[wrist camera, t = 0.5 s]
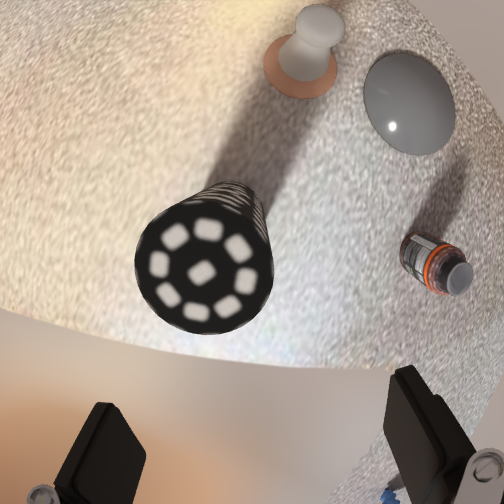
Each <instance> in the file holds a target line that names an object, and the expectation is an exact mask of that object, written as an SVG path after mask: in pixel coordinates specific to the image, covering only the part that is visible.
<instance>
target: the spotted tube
mask: <svg viewBox="0 0 504 504" xmlns="http://www.w3.org/2000/svg"><path fill="white" fill-rule="evenodd" d="M134 261H135V275H136V280H137V284H138V287H139V289H140V291H141V294H142V296H143V298H144V299H145V301H146V302H147V303H148V305H149V306H150V308H151V309H152V310H153V311H154V312H155V313H156V314H157V315H158V316H159V317H160V318H162V319H163V320H164V321H166V322H167V323H169V324H170V325H172V326H174V327H176V328H178V329H180V330H183V331H186V332H190V333H193V334H201V335H216V334H222V333H226V332H230V331H233V330H235V329H237V328H240V327H242V326H244V325H245V324H246V323H248V322H249V321H251V320H252V319H253V318H254V317H255V316H256V315H257V314H258V313H259V312H260V311H261V310H262V308H263V306H264V305H265V303H266V302H267V300H268V298H269V295H270V292H271V289H272V287H273V279H274V264H273V256H272V251H271V246H270V241H269V236H268V231H267V226H266V221H265V216H264V211H263V207H262V204H261V202H260V200H259V198H258V196H257V195H256V194H255V193H254V192H253V191H252V190H251V189H250V188H248V187H247V186H245V185H243V184H240V183H236V182H222V183H219V184H216V185H213V186H211V187H209V188H207V189H205V190H203V191H201V192H199V193H197V194H195V195H193V196H191V197H189V198H187V199H185V200H183V201H181V202H179V203H177V204H175V205H173V206H171V207H169V208H168V209H166V210H164V211H163V212H161V213H160V214H158V215H157V216H156V217H155V218H154V219H153V220H152V221H151V222H150V223H149V224H148V225H147V227H146V228H145V230H144V231H143V233H142V234H141V237H140V239H139V242H138V244H137V247H136V253H135V259H134Z"/></svg>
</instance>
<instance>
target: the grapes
mask: <svg viewBox="0 0 504 504" xmlns="http://www.w3.org/2000/svg"><path fill="white" fill-rule="evenodd" d="M395 497H396V494H395V493H393V491H392V490H385V491H384V493H383V494H382V496H381V498H380V500H382V501H383V503H382V504H400V501H399V500H396V499H395Z"/></svg>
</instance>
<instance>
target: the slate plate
mask: <svg viewBox="0 0 504 504" xmlns="http://www.w3.org/2000/svg"><path fill="white" fill-rule="evenodd" d="M363 95H364V104H365V108H366V112H367V114H368V117H369V119H370V121H371V123H372V125H373V127H374V128H375V130H376V131H377V133H378V134H379V135H380V136H381V137H382V138H383V139H384V140H385V141H386V142H387V143H388V144H389V145H391V146H392V147H394V148H395V149H397V150H399V151H401V152H403V153H407V154H411V155H428V154H432V153H435V152H436V151H438V150H440V149H441V148H442V147H444V146H445V144H446V143H447V142H448V141H449V139H450V137H451V135H452V133H453V130H454V126H455V117H456V115H455V105H454V101H453V97H452V94H451V92H450V90H449V88H448V86H447V84H446V82H445V81H444V79H443V78H442V76H441V75H440V74H439V73H438V72H437V71H436V70H435V69H434V68H433V67H432V66H431V65H430V64H428V63H427V62H425V61H424V60H422V59H420V58H418V57H415V56H412V55H409V54H392V55H389V56H386V57H384V58H382V59H381V60H379V61H378V62H377V63H376V64H374V65H373V67H372V68H371V69H370V71H369V72H368V74H367V77H366V79H365V83H364V90H363Z"/></svg>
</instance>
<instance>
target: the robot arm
mask: <svg viewBox="0 0 504 504" xmlns="http://www.w3.org/2000/svg"><path fill="white" fill-rule="evenodd" d="M383 429H384V434H385V436H386V439H387V441H388V443H389V446H390V448H391V451H392V453H393V456H394V458H395V461H396V463H397V466H398V469H399V471H400V474H401V476H402V479H403V481H404V484H405V487H406V489H407V492H408V495H409V497H410V500H411V503H412V504H504V453H503V452H501V451H500V450H498V449H494V448H485V449H482V450H480V451H478V452H477V451H476V450H475V448H474V447H473V445H472V443H471V442H470V440H469V438H468V437H467V435H466V434H465V432H464V430H463V429H462V427H461V426H460V424H459V422H458V421H457V419H456V418H455V416H454V415H453V413H452V412H451V410H450V409H449V407H448V406H447V404H446V403H445V401H444V400H443V398H442V397H441V396H440V395H438V394H436V395H433V394H432V392H431V391H430V389H429V388H428V386H427V385H426V383H425V382H424V380H423V379H422V377H421V376H420V374H419V373H418V371H417V370H416V368H415V367H414V366H413V365H409V366H406V367H402V368H399V369H396V370H395V374H393V375H391V377H390V384H389V391H388V399H387V405H386V412H385V418H384V423H383ZM145 460H146V452H145V450H144V448H143V447H142V445H141V444H140V442H139V441H138V439H137V438H136V436H135V435H134V433H133V432H132V430H131V428H130V427H129V425H128V423H127V422H126V420H125V418H124V417H123V415H122V414H121V412H120V410H119V409H118V408H117V407H115V405H114V404H113V403H104V402H97V403H96V404H95V406H94V407H93V409H92V411H91V413H90V414H89V416H88V418H87V420H86V422H85V424H84V425H83V427H82V429H81V431H80V433H79V435H78V436H77V438H76V440H75V442H74V444H73V446H72V448H71V450H70V452H69V454H68V455H67V458H66V460H65V462H64V463H63V465H62V467H61V469H60V471H59V473H58V475H57V477H56V479H55V481H54V485H55V488H54V489H53V487H51V486H49V485H45V484H42V485H38V486H36V487H34V488H33V489H32V490H31V491H30V492H29V494H28V496H27V504H133V500H134V497H135V494H136V490H137V487H138V483H139V480H140V477H141V473H142V470H143V467H144V463H145Z"/></svg>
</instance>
